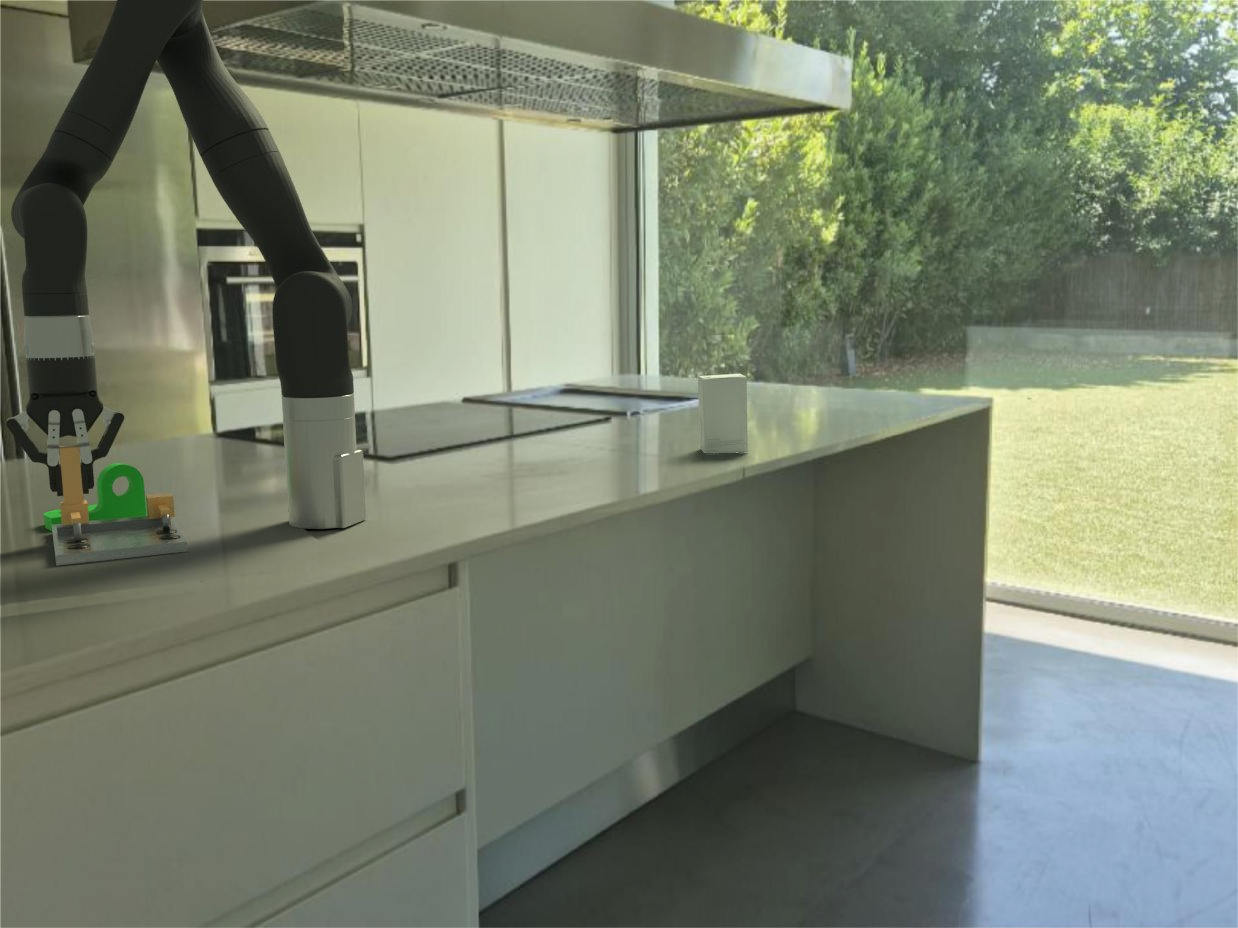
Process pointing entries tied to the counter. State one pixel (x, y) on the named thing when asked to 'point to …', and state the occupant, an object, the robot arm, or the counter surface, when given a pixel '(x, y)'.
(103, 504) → the mechanical part
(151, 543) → the plate
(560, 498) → the counter surface
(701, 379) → the skincare box
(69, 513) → the leg
